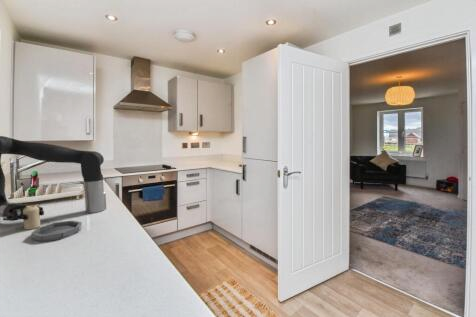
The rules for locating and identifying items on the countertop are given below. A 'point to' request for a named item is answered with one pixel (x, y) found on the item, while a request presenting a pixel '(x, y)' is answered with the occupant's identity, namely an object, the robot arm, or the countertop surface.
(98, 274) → the countertop surface
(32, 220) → the candle
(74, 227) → the saucer
